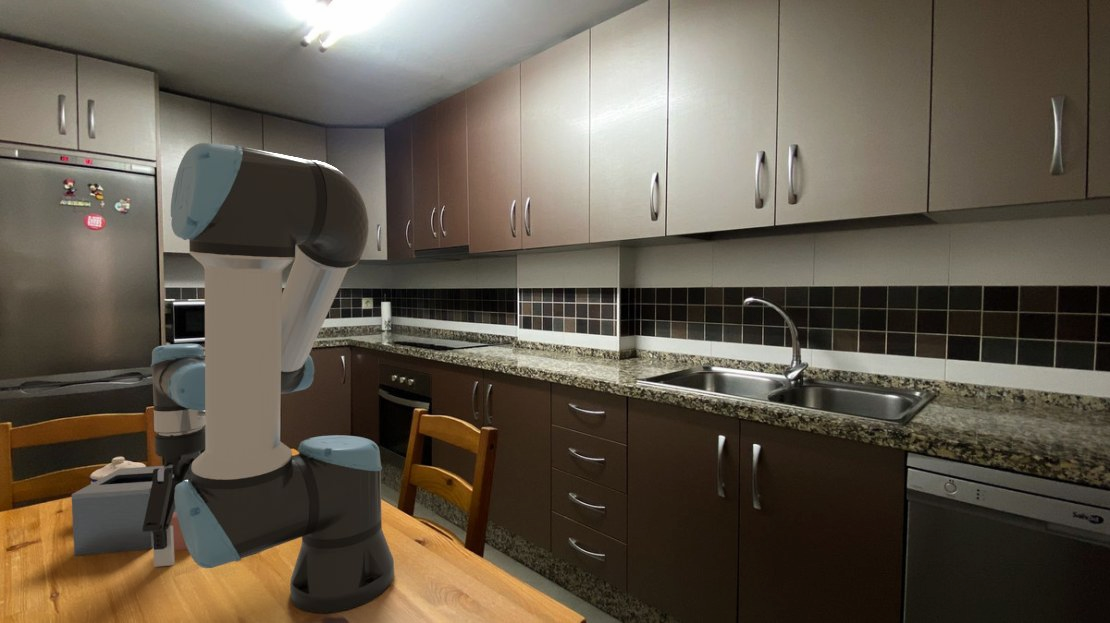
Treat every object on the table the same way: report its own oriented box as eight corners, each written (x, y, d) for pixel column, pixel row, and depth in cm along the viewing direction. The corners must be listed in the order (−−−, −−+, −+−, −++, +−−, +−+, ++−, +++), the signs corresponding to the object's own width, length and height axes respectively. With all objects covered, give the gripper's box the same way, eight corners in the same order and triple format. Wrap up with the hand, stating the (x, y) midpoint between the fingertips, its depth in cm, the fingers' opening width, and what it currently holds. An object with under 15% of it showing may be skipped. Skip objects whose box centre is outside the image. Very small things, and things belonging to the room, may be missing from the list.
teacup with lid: (157, 507, 109) (155, 454, 108) (106, 526, 100) (103, 468, 100) (125, 498, 114) (123, 447, 113) (73, 515, 105) (71, 460, 105)
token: (199, 548, 92) (198, 515, 92) (165, 551, 91) (163, 518, 91) (205, 541, 94) (204, 510, 94) (172, 544, 93) (171, 512, 93)
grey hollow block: (151, 549, 91) (149, 489, 91) (74, 555, 89) (71, 494, 89) (189, 517, 104) (187, 464, 104) (122, 522, 102) (120, 468, 101)
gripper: (165, 450, 80) (170, 581, 81) (233, 412, 104) (237, 512, 106) (110, 453, 79) (116, 586, 80) (193, 413, 103) (197, 515, 104)
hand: (185, 544), depth 93 cm, fingers open, 13 cm apart
